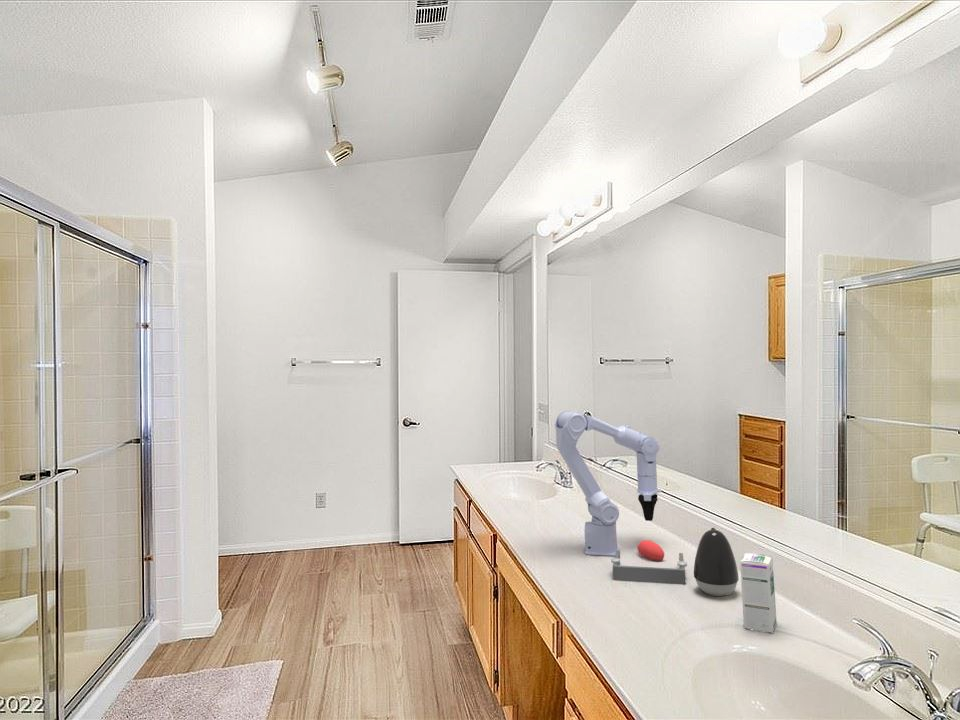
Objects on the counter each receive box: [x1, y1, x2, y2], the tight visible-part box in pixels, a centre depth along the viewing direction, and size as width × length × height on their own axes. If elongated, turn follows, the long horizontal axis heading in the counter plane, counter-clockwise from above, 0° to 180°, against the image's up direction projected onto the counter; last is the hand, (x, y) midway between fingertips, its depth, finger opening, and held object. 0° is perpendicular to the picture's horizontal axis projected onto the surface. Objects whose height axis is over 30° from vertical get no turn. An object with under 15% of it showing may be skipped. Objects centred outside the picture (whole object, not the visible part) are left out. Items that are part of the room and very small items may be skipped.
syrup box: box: [739, 552, 778, 634], centre depth 128 cm, size 6×6×14 cm
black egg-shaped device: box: [693, 527, 739, 597], centre depth 147 cm, size 10×10×15 cm
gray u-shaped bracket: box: [610, 549, 688, 585], centre depth 162 cm, size 19×14×4 cm
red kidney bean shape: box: [637, 539, 665, 562], centre depth 174 cm, size 5×9×6 cm, turn 12°
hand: (648, 519), depth 184 cm, fingers closed
